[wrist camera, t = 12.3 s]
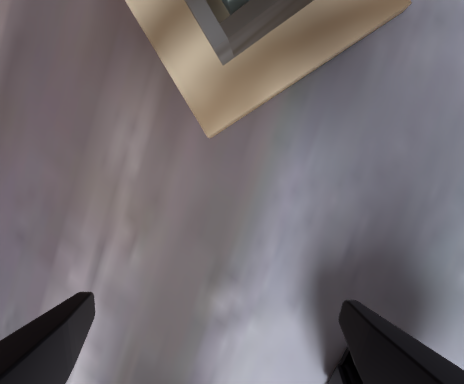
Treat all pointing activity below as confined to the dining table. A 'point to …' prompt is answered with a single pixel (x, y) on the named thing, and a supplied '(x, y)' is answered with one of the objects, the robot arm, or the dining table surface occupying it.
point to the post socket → (251, 47)
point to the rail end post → (233, 5)
